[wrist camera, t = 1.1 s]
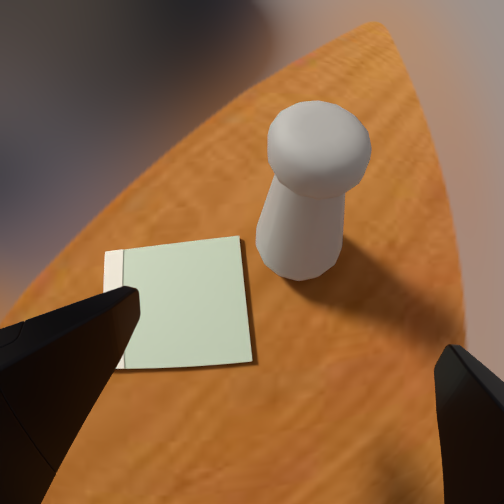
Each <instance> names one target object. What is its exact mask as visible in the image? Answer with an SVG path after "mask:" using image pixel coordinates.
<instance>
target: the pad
mask: <svg viewBox="0 0 504 504" xmlns="http://www.w3.org/2000/svg"><path fill="white" fill-rule="evenodd" d="M122 286H130V287H134V288H137V289H138V291H139V297H140V310H141V315H140V319H139V322H138V324H137V326H136V328H135V330H134V332H133V334H132V336H131V339H130V341H129V343H128V345H127V347H126V349H125V352H124V354H123V356H122V358H121V360H120V362H119V363H118V365H117V367H116V369H142V368H172V367H191V366H207V365H220V364H231V363H242V362H252V352H251V343H250V333H249V324H248V315H247V306H246V296H245V287H244V278H243V268H242V258H241V249H240V239H239V236H232V237H223V238H215V239H206V240H198V241H190V242H182V243H173V244H165V245H157V246H149V247H142V248H134V249H126V250H123V249H122V250H114V251H107V252H105V265H104V292H107V291H110V290H113V289H116V288H119V287H122Z"/></svg>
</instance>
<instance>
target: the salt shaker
mask: <svg viewBox="0 0 504 504" xmlns="http://www.w3.org/2000/svg"><path fill="white" fill-rule="evenodd" d="M370 156H371V143H370V138H369V133H368V131H367V130H366V128H365V127H364V126H363V125H362V123H361V122H360V121H359V120H358V119H357V117H356V116H354V115H353V114H352V113H350V112H348V111H347V110H345V109H343V108H342V107H340V106H338V105H336V104H332V103H327V102H323V101H307V102H299V103H296V104H294V105H292V106H290V107H288V108H286V109H284V110H282V111H281V112H280V113H279V114H278V116H277V117H276V118H275V120H274V121H273V122H272V124H271V125H270V129H269V132H268V162H269V164H270V166H271V168H272V170H273V171H274V173H275V175H274V178H273V181H272V184H271V187H270V190H269V192H268V195H267V198H266V201H265V204H264V207H263V210H262V213H261V215H260V218H259V221H258V224H257V228H256V246H257V249H258V251H259V253H260V255H261V257H262V260H263V262H264V264H265V265H266V266H267V267H269V268H270V269H271V270H272V271H274V272H275V273H276V274H277V275H279V276H281V277H285V278H288V279H292V280H296V281H302V280H307V279H311V278H316V277H318V276H320V275H321V274H323V273H324V272H325V271H327V270H328V269H329V268H331V267H332V266H333V265H335V263H336V261H337V258H338V256H339V254H340V251H341V249H342V240H343V224H344V205H345V193H346V192H347V191H348V190H350V189H351V188H353V187H354V186H356V185H357V184H359V182H360V181H361V179H362V177H363V176H364V173H365V170H366V168H367V165H368V163H369V160H370Z"/></svg>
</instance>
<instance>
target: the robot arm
mask: <svg viewBox="0 0 504 504" xmlns="http://www.w3.org/2000/svg"><path fill="white" fill-rule="evenodd" d="M140 315H141V310H140V297H139V291H138V289H137V288H134V287H130V286H122V287H119V288H116V289H113V290H110V291H107V292H104V293H102V294H99V295H96V296H93V297H90V298H87V299H84V300H82V301H79V302H76V303H73V304H70V305H67V306H65V307H62V308H59V309H56V310H53V311H50V312H48V313H45V314H42V315H39V316H36V317H34V318H31V319H28V320H25V322H24V321H22V322H19V323H17V324H14V325H11V326H8V327H5V328H2V329H0V504H41V502H42V500H43V498H44V496H45V494H46V492H47V491H48V489H49V487H50V485H51V483H52V481H53V479H54V477H55V475H56V472H57V471H58V469H59V467H60V465H61V463H62V461H63V460H64V458H65V456H66V454H67V452H68V450H69V448H70V447H71V445H72V443H73V441H74V439H75V438H76V436H77V434H78V432H79V430H80V429H81V427H82V425H83V423H84V421H85V420H86V418H87V416H88V414H89V413H90V411H91V409H92V407H93V406H94V404H95V402H96V401H97V399H98V397H99V395H100V394H101V392H102V390H103V389H104V387H105V385H106V384H107V382H108V380H109V379H110V377H111V375H112V374H113V372H114V370H115V369H116V367H117V365H118V363H119V362H120V360H121V358H122V356H123V354H124V352H125V349H126V347H127V345H128V343H129V341H130V339H131V336H132V334H133V332H134V330H135V328H136V326H137V324H138V322H139V319H140ZM434 379H435V393H436V411H437V422H438V429H439V437H440V446H441V456H442V468H443V482H444V504H504V382H503V381H502V380H501V379H500V378H498V377H497V376H496V375H495V374H494V373H493V372H491V371H490V370H489V369H488V368H487V367H486V366H484V365H483V364H482V363H481V362H480V361H478V360H477V359H476V358H475V357H473V356H472V355H471V354H470V353H469V352H468V351H466V350H465V349H464V348H463V347H461V346H460V345H453V344H449V345H447V346H446V347H445V349H444V351H443V352H442V354H441V356H440V358H439V360H438V361H437V363H436V365H435V368H434Z"/></svg>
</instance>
